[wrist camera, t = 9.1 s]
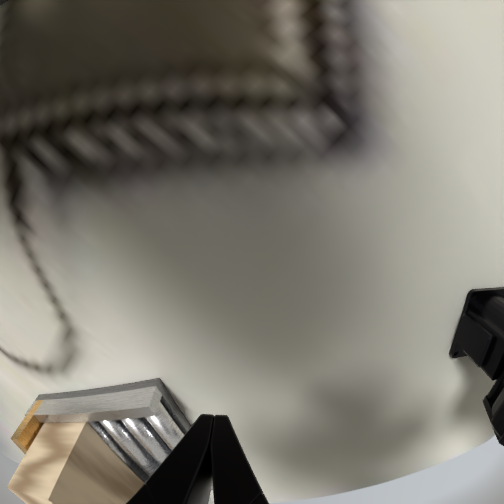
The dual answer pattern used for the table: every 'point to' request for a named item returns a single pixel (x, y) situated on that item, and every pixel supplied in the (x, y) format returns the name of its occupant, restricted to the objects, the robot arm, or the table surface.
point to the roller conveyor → (115, 421)
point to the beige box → (72, 469)
